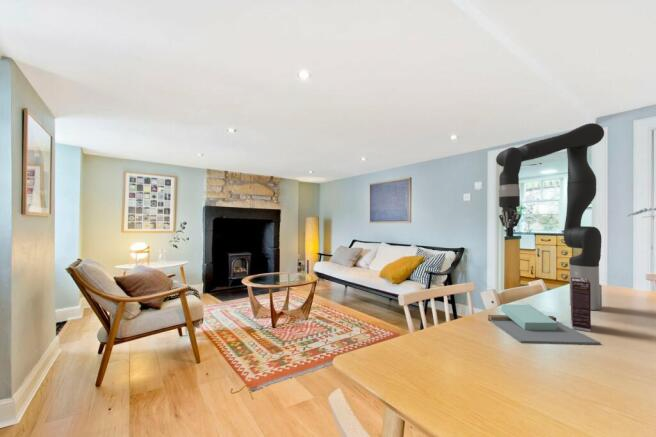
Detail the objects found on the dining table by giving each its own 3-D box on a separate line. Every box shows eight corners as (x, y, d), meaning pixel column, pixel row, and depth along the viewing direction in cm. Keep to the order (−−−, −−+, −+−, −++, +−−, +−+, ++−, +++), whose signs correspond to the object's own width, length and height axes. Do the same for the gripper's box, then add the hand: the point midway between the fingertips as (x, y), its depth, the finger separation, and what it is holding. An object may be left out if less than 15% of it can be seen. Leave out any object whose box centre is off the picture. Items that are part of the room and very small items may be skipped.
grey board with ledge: (488, 319, 105) (488, 314, 105) (552, 321, 104) (552, 315, 104) (520, 342, 85) (520, 336, 85) (600, 344, 84) (600, 338, 84)
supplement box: (591, 332, 93) (591, 282, 93) (572, 329, 96) (571, 280, 96) (588, 324, 100) (588, 278, 100) (570, 321, 103) (569, 276, 103)
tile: (501, 304, 107) (525, 322, 93) (529, 304, 107) (557, 322, 93) (501, 310, 108) (524, 329, 94) (528, 311, 107) (556, 330, 93)
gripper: (527, 194, 117) (528, 237, 117) (509, 197, 130) (510, 236, 130) (508, 194, 117) (509, 237, 117) (492, 197, 130) (492, 236, 130)
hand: (509, 236), depth 123 cm, fingers closed
